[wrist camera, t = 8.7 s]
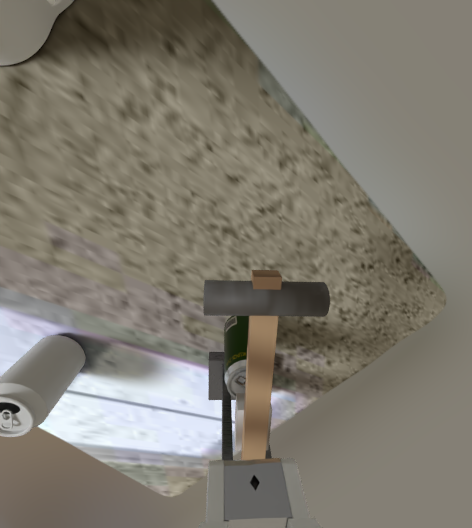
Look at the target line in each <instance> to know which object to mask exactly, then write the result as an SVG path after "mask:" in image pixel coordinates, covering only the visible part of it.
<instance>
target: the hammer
mask: <svg viewBox="0 0 472 528" xmlns="http://www.w3.org/2000/svg"><path fill="white" fill-rule="evenodd" d="M329 305H330V296H329V291H328V288H327V285H326V284H325V283H324V282H282V277H281V275H280V273H279V272H278V271H275V270H252V275H251V281H217V280H205V284H204V315H216V316H249V329H248V346H247V364H246V382H245V393H236V412H235V451H242V453H241V460H253V459H265V454H266V450H268V447H269V436H270V426H271V416H272V407H271V402H270V401H271V390H272V379H273V369H274V358H275V347H276V336H277V326H278V316H321V317H324V316H326V315H327V313H328V311H329Z"/></svg>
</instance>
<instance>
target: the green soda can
mask: <svg viewBox="0 0 472 528" xmlns="http://www.w3.org/2000/svg"><path fill="white" fill-rule="evenodd" d="M248 329H249V316H231V317H230V318H229V319H228V320H227V322H226V324H225V328H224V373H225V383H226V385H227V390H228V392H229V393H230V395H232V396H233V397H234V398H236V393H245V382H246V364H247V346H248Z"/></svg>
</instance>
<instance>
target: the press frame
mask: <svg viewBox="0 0 472 528" xmlns="http://www.w3.org/2000/svg"><path fill="white" fill-rule="evenodd" d="M209 400H222V460H224V461H225V460H233V448H232V417H231V400H236V398H234V397H233V396H232V395H230V393H229V392H228V390H227V385H226V383H225V373H224V352H209ZM265 459H272V458H271V451H270V445H269V447H268V450H266V454H265Z"/></svg>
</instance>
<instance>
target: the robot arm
mask: <svg viewBox="0 0 472 528" xmlns="http://www.w3.org/2000/svg"><path fill="white" fill-rule="evenodd" d="M73 1H74V0H0V65H11V64H16V63H19V62H22V61H24V60H26V59H28V58H29V57H31V56H32V55H34V54H35V53H36V52H37V51H38V50H39V49H40V48H41V46H42V45H43V44H44V42H45V41H46V39H47V37H48V35H49V33H50V31H51V28H52V26H53V23H54V21H55V19H56V17H57V16H58V14H60V13H61V12H62V11H63V10H65V9H66V8H67V7H68V6H69V5H70V4H71V3H72V2H73ZM198 528H323V527H322V526H321V525H320V523H319V522H318V521H317V520H316V518H311V517H310V514H309V510H308V506H307V502H306V498H305V494H304V490H303V486H302V482H301V478H300V474H299V471H298V466H297V462H296V461H295V459H294V458H272V459H253V460H225V461H224V460H216V461H209V466H208V484H207V504H206V522H201V523H200V525H199V527H198Z"/></svg>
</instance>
